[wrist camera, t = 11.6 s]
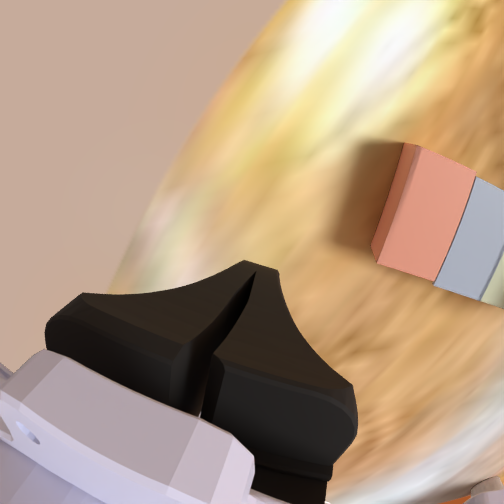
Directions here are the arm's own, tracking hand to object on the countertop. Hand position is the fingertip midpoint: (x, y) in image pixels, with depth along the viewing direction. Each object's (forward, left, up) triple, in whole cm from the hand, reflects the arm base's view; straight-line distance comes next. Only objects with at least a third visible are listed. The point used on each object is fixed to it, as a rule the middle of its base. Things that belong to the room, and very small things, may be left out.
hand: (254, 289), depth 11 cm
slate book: (+3, -12, -10) cm, 16 cm away
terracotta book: (+3, -8, -10) cm, 13 cm away
